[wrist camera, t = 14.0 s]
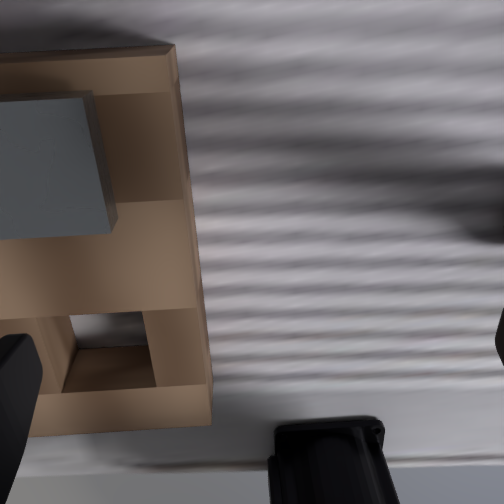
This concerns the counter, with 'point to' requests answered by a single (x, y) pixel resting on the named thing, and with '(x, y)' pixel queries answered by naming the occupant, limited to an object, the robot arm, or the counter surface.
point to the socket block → (116, 256)
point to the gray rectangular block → (53, 167)
